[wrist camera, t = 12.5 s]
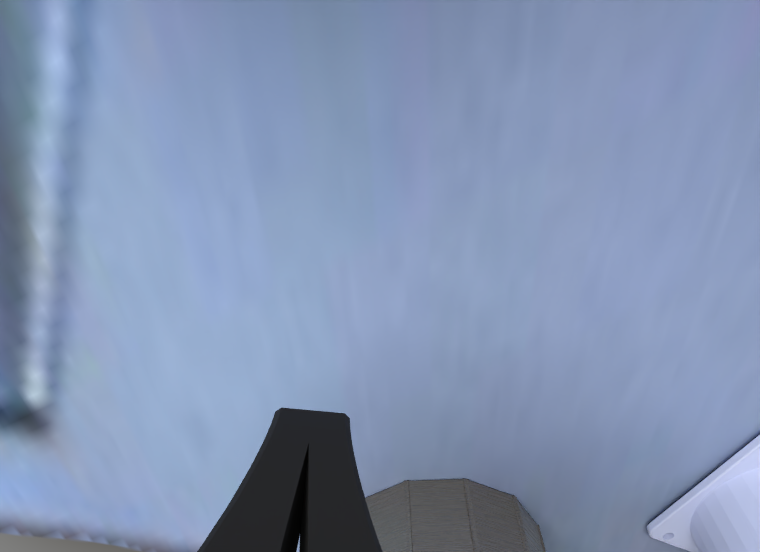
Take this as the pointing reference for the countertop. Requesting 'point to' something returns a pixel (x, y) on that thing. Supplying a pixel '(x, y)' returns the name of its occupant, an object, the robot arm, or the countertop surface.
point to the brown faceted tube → (451, 519)
